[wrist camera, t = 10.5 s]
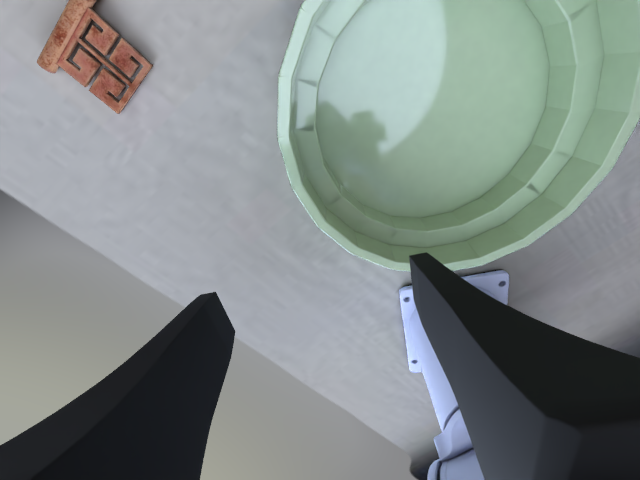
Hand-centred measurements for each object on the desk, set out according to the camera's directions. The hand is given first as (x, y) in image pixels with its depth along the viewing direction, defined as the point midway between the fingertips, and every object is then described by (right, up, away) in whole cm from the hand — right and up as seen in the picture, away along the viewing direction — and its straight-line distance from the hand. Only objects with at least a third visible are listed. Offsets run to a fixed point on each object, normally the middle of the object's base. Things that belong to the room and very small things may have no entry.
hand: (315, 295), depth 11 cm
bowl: (+6, +9, +7) cm, 13 cm away
